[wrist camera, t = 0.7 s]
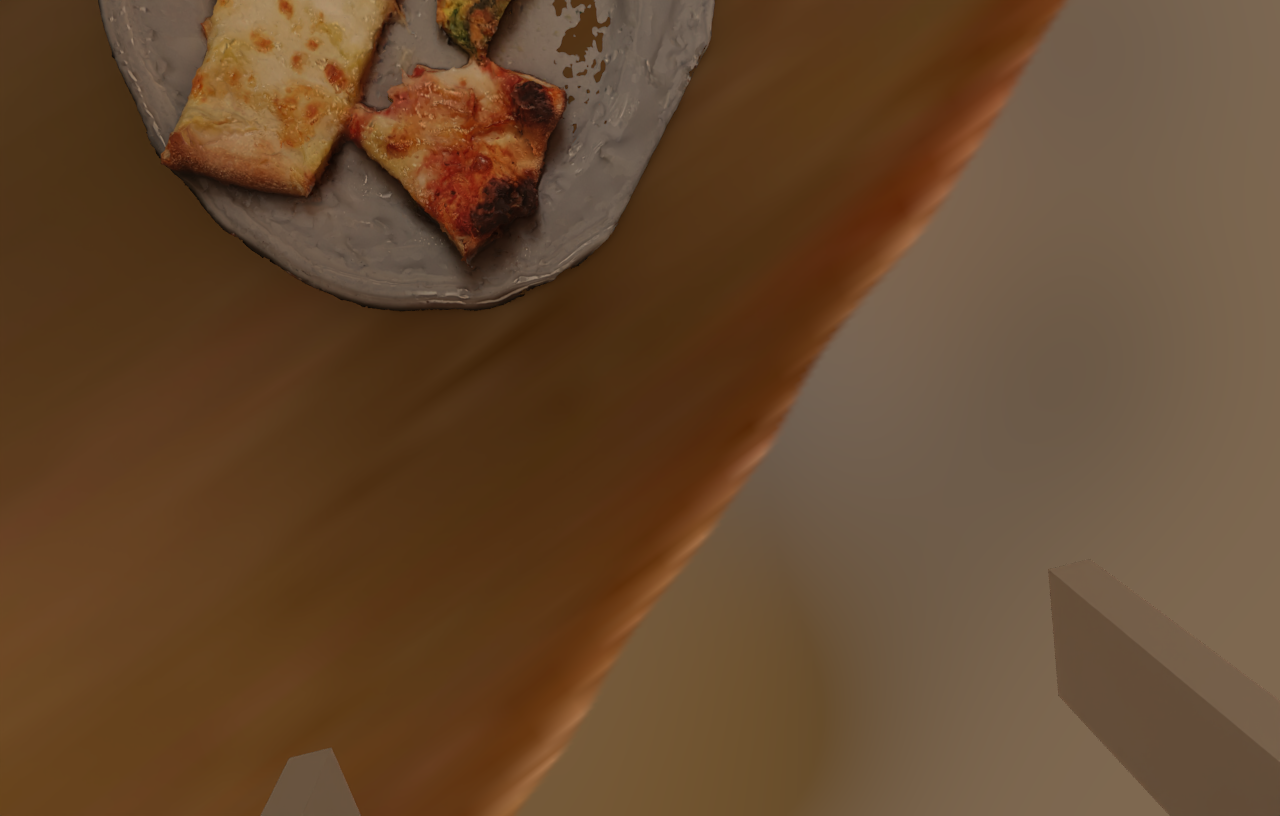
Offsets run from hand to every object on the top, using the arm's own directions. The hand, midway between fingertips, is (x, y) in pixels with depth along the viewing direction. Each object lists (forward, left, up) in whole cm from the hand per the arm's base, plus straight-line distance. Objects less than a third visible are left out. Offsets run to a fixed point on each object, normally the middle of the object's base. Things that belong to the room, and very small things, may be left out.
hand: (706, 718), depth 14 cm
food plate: (-18, -1, -27) cm, 32 cm away
